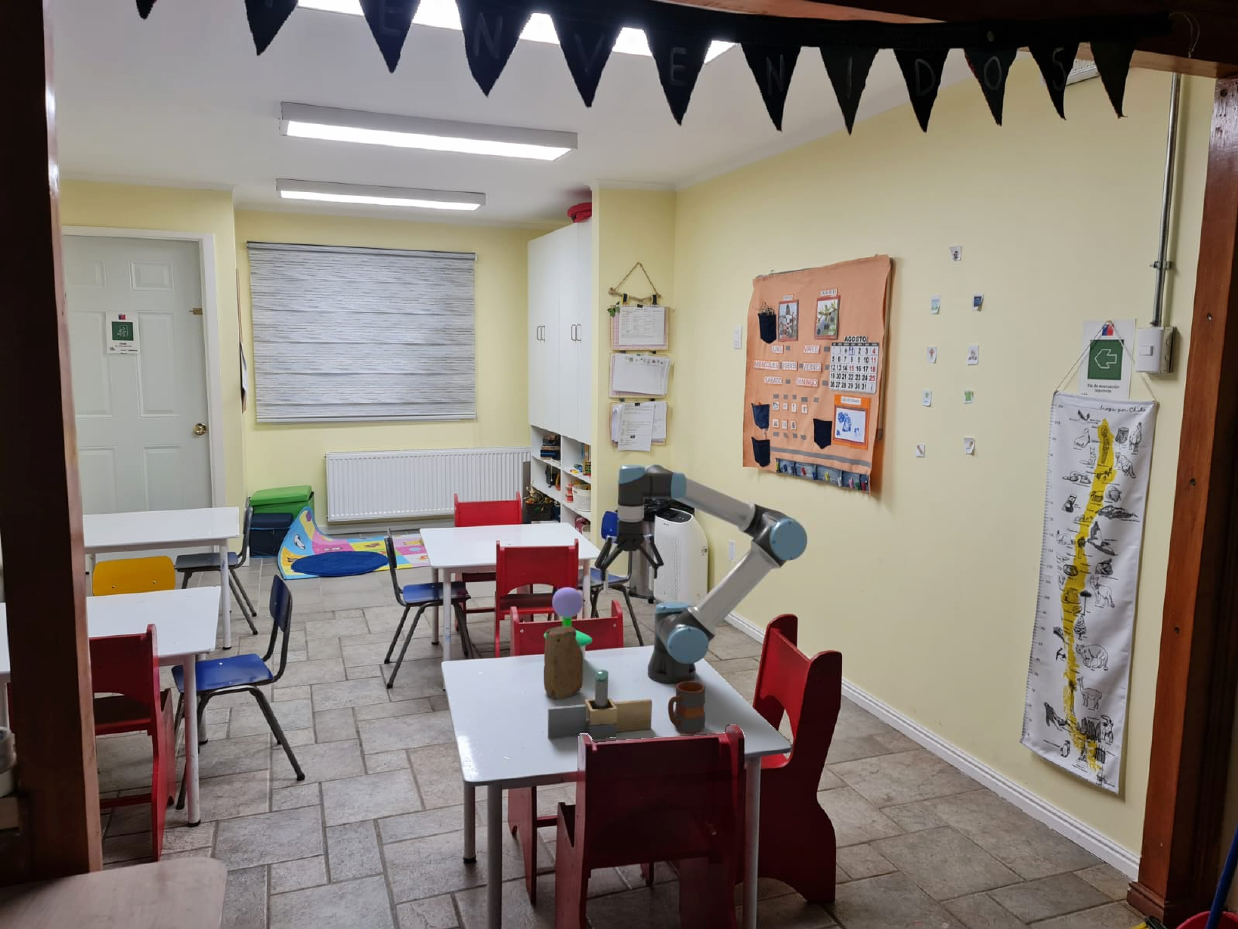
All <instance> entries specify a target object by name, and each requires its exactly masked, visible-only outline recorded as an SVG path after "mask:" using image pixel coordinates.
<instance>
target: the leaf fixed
mask: <svg viewBox="0 0 1238 929" xmlns="http://www.w3.org/2000/svg"><path fill="white" fill-rule="evenodd" d="M617 732H618V731H617V724H616V723H610V724H599V725H590V724H589V722H588V720H587V718H586V705H585V704H577V705H573V704H572V705H564V706H552V707H551V706H550V707H548V708H547V738H548V739H549V740H550V739H561V738H573V737H579V736H578V735H579V734H580V733H588V734H589V735H590V736H591V737H592V739H593V740H592V741H597V740H607V739H606V738H610V737H616V738H617ZM610 739H611V738H610Z"/></svg>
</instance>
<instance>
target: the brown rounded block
mask: <svg viewBox="0 0 1238 929" xmlns="http://www.w3.org/2000/svg"><path fill="white" fill-rule="evenodd" d="M562 626H563V625H562ZM562 626H556V627H552V628H551V627H550V628H548V629H546V631H545V633H546V639H545V643H544V656H543V659H544V660H543V661H544V666H543V686H544V690H545V693H546V694H547V695H548V696H549V697H551V698H553V699H566V698H571V696H575V695H577V694H578V693H579V692H580V691H581V689H582V686H583V680H584V659H583V653H582V650H581V648H580V646H579V643H578V642H577V640H576V631H575V630H576V629H575V627H570V626H563V627H562Z"/></svg>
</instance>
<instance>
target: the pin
mask: <svg viewBox="0 0 1238 929" xmlns="http://www.w3.org/2000/svg"><path fill="white" fill-rule="evenodd" d="M594 674H595V676H594V677H595V679H594V699H595V709H605V708H607V706H608V698H609V697H608V696H609V671H608V670H606V669H597V670H596V671H595V673H594Z"/></svg>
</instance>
